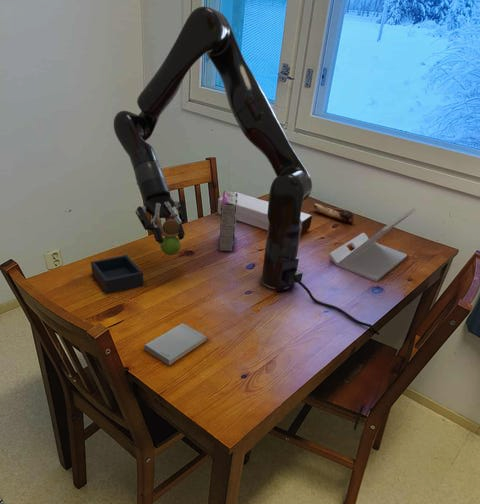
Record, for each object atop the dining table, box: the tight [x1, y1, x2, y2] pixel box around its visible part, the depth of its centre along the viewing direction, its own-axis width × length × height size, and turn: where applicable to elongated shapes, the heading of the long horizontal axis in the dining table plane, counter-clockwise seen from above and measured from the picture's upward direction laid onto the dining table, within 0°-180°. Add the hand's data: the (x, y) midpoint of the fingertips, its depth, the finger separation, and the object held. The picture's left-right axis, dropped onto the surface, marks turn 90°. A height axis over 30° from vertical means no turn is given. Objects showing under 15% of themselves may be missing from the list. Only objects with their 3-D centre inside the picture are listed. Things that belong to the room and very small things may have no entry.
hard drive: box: [143, 322, 207, 366], centre depth 108 cm, size 2×8×12 cm
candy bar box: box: [218, 190, 239, 252], centre depth 150 cm, size 11×5×16 cm, turn 179°
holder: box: [90, 254, 144, 295], centre depth 129 cm, size 12×11×4 cm
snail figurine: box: [156, 214, 181, 256], centre depth 124 cm, size 5×6×12 cm
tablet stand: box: [328, 208, 416, 282], centre depth 150 cm, size 18×25×17 cm
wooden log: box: [313, 203, 354, 224], centre depth 183 cm, size 9×5×18 cm
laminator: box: [216, 191, 313, 235], centre depth 170 cm, size 34×12×6 cm, turn 58°
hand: (171, 240), depth 124 cm, fingers closed on snail figurine, 5 cm apart
